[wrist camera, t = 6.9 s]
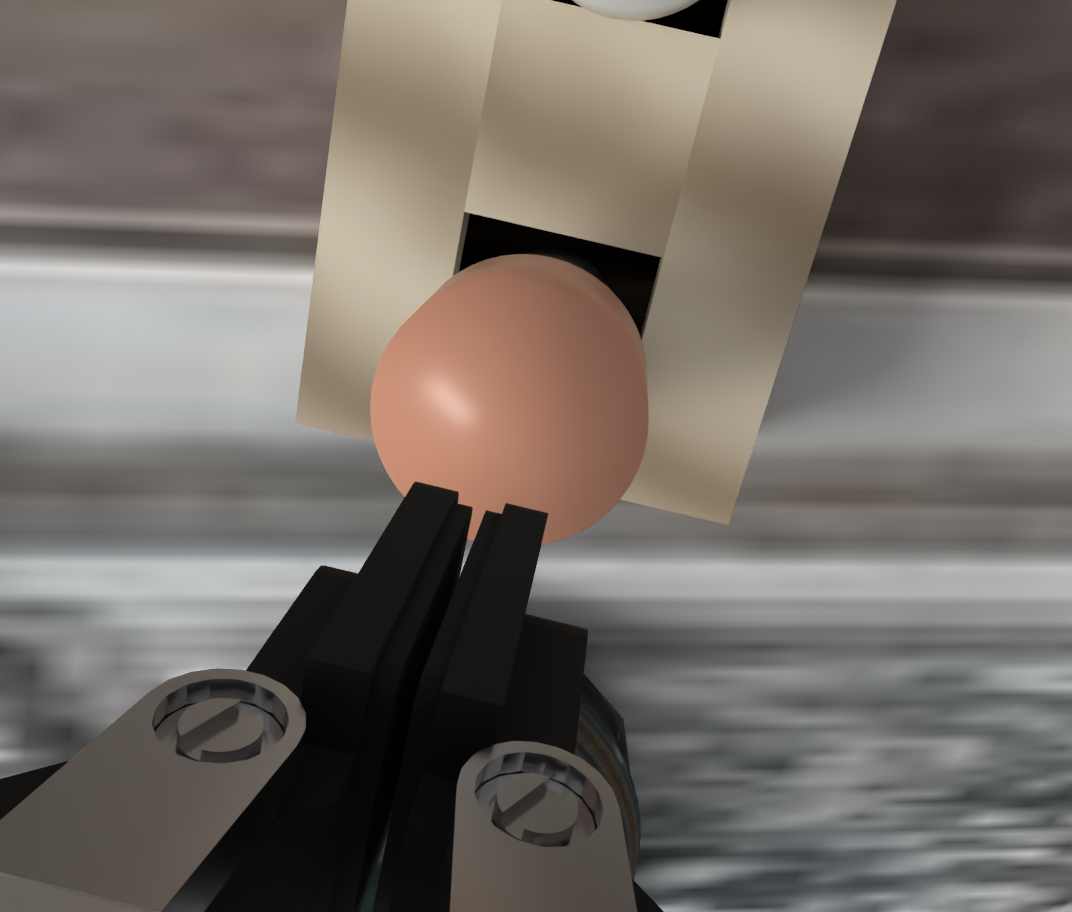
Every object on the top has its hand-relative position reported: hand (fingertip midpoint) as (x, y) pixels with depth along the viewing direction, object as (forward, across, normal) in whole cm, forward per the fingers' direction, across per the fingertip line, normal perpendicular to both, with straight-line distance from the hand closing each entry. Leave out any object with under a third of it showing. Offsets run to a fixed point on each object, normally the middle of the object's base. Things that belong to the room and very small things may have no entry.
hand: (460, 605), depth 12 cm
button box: (+20, 0, -5) cm, 21 cm away
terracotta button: (+15, 0, 0) cm, 16 cm away
